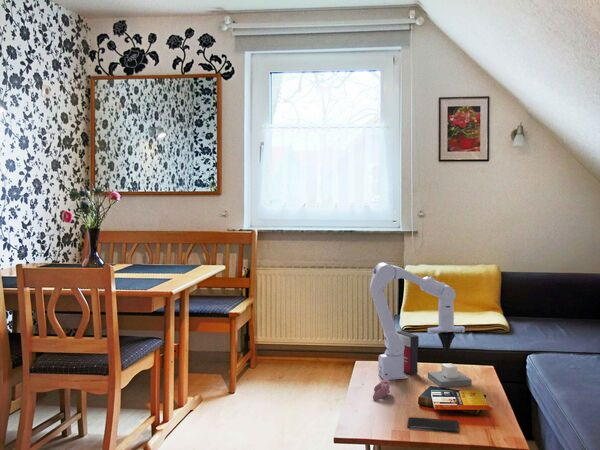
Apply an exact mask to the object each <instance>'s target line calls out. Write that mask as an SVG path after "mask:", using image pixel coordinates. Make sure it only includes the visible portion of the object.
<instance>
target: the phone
mask: <svg viewBox="0 0 600 450" xmlns="http://www.w3.org/2000/svg"><path fill="white" fill-rule="evenodd" d="M406 428H407V429H409V430H419V431H426V432H442V433H453V434H458V433H459V431H460V429H459V428H460V425H459V420H456V419H455V420H454V419H453V420H452V419H441V418H428V417H417V416H416V417H414V416H410V417H408V419H407V423H406Z"/></svg>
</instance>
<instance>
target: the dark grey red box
mask: <svg viewBox="0 0 600 450" xmlns="http://www.w3.org/2000/svg"><path fill="white" fill-rule="evenodd" d="M396 331H397V330H396ZM397 333H398V335H399V338H400V340H401V341H402V342H403V343H404V346H405V349H404V351H403V352H404V373H406V374H409V375H411V376H412V375H417V374H418V348H419V344H420V343H419V341H420V339H419V335H417V334H414V333H411V332H407V331H405V330H398V331H397Z"/></svg>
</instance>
